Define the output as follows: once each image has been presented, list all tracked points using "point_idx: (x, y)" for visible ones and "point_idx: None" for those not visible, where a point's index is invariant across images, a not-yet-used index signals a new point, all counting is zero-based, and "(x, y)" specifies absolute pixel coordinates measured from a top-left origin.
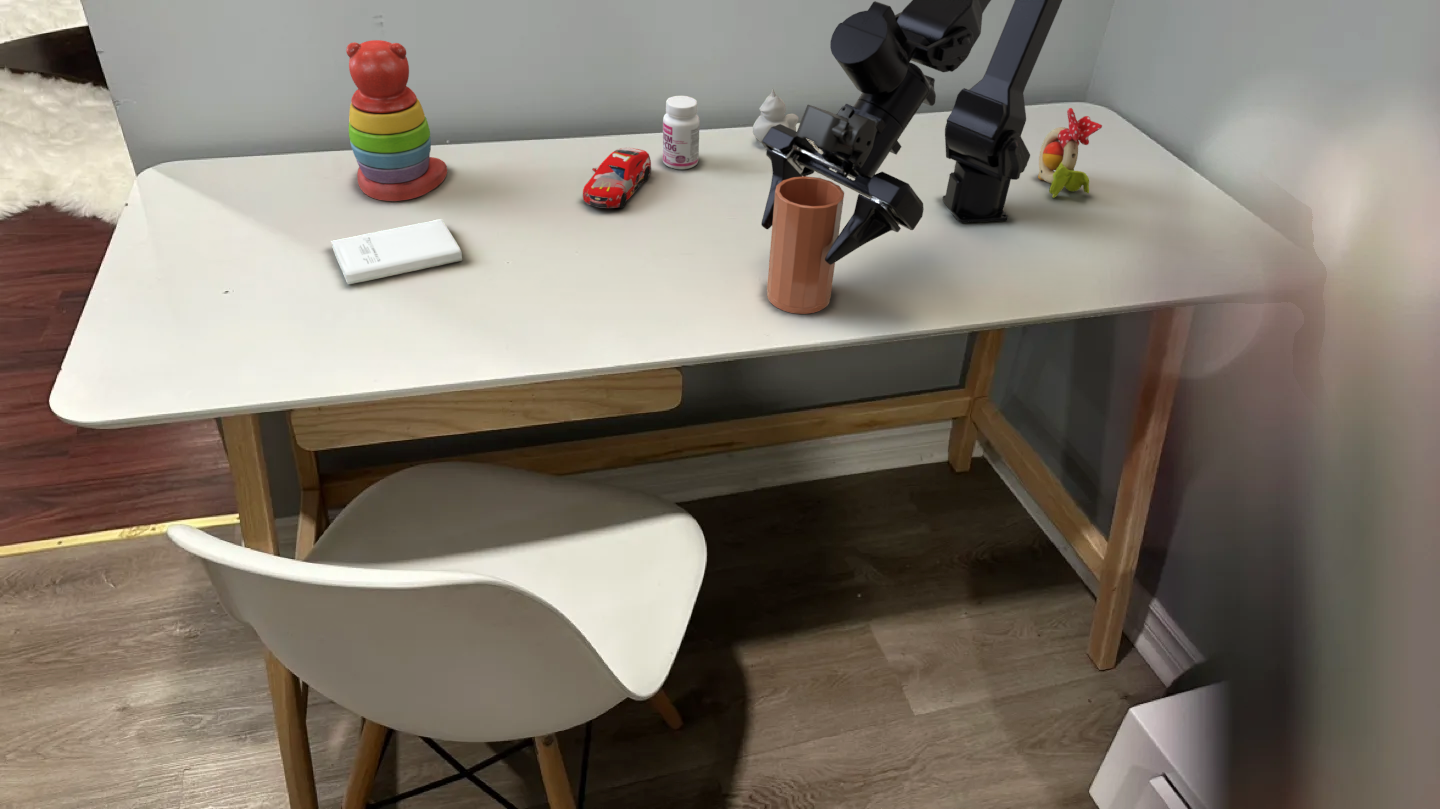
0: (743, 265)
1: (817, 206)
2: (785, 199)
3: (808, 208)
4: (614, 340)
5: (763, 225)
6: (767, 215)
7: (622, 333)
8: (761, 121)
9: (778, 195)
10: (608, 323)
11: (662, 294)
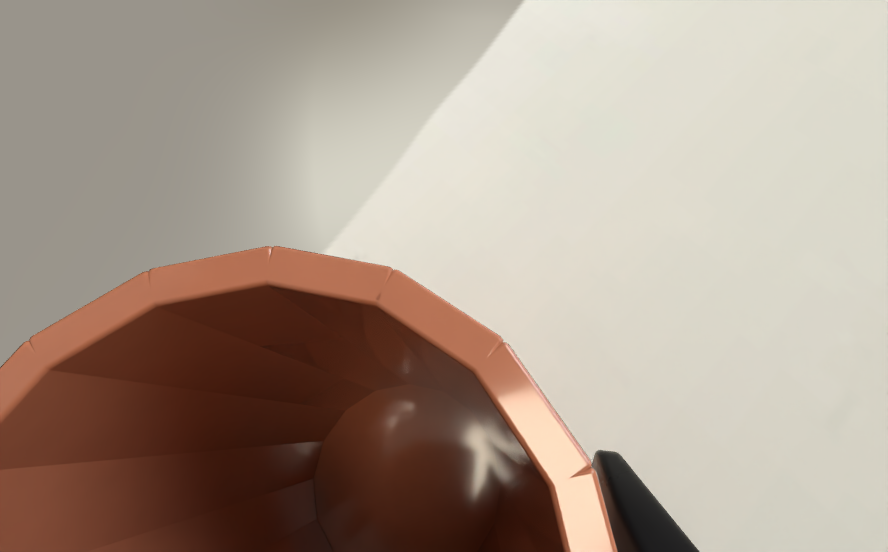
0: (666, 501)
1: (4, 392)
2: (323, 278)
3: (77, 313)
4: (590, 19)
5: (599, 451)
6: (617, 488)
7: (600, 43)
8: None
9: (420, 291)
10: (653, 45)
11: (680, 201)
